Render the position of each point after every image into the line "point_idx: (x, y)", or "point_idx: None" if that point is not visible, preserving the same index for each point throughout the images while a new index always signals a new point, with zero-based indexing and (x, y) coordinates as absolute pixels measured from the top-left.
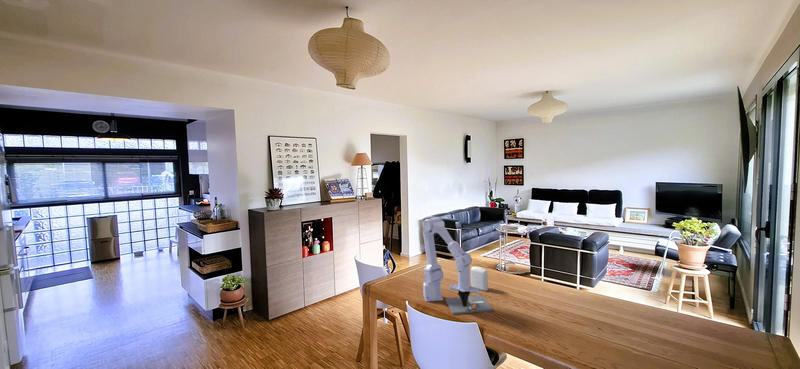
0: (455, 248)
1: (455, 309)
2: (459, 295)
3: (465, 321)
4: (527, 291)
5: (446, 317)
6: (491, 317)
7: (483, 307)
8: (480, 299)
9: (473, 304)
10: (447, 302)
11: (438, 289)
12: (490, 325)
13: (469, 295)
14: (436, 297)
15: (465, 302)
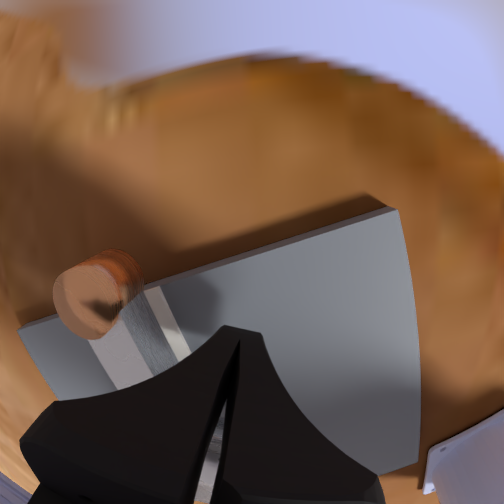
0: None
1: (363, 297)
2: (339, 460)
3: (226, 57)
4: (14, 464)
5: (447, 131)
6: (15, 211)
7: (74, 359)
8: None
9: (78, 296)
10: (419, 419)
11: (483, 499)
12: (26, 74)
13: (197, 499)
14: (481, 443)
15: (205, 349)
